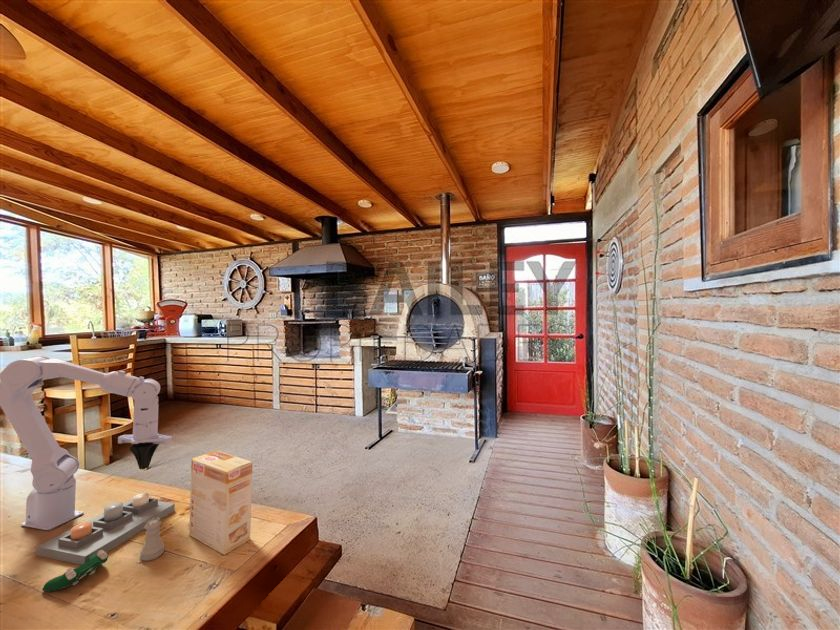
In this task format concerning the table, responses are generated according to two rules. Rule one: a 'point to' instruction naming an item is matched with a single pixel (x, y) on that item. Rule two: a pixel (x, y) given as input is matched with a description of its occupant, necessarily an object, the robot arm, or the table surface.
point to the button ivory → (140, 500)
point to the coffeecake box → (220, 500)
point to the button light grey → (113, 512)
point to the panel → (104, 533)
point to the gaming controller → (76, 572)
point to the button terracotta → (81, 530)
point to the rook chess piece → (152, 540)
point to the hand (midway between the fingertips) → (144, 467)
